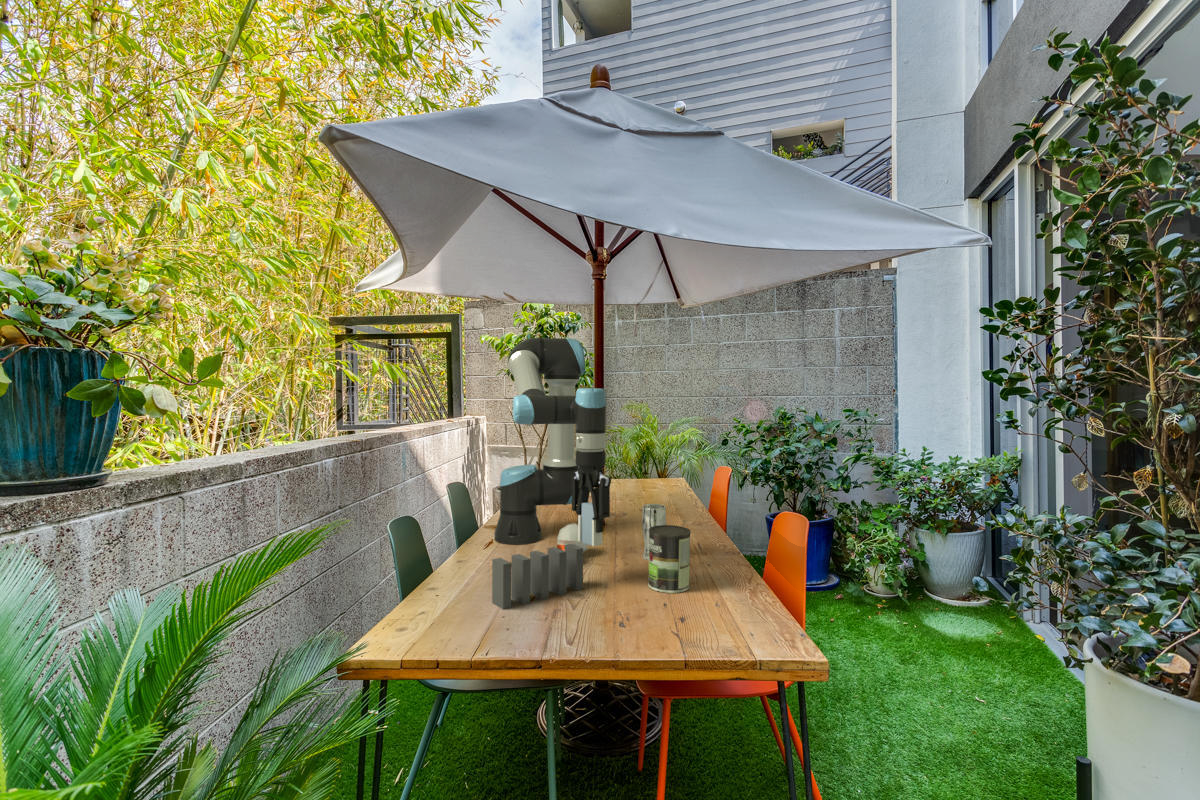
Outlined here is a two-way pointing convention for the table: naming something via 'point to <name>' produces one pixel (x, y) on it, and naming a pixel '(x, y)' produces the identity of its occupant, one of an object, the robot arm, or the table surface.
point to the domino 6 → (587, 522)
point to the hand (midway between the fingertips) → (590, 542)
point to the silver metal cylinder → (651, 522)
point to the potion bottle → (569, 537)
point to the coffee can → (669, 558)
